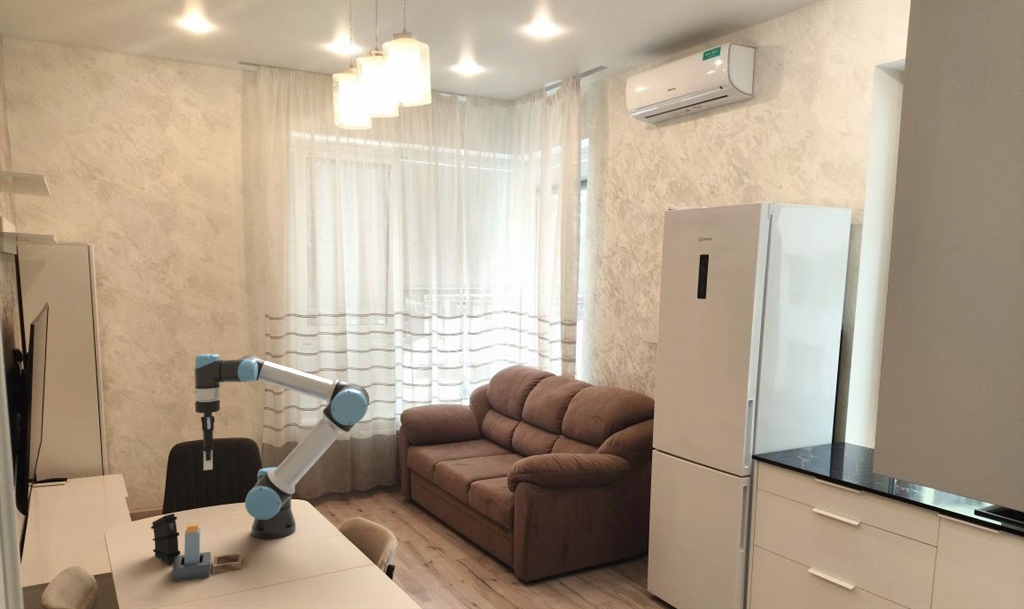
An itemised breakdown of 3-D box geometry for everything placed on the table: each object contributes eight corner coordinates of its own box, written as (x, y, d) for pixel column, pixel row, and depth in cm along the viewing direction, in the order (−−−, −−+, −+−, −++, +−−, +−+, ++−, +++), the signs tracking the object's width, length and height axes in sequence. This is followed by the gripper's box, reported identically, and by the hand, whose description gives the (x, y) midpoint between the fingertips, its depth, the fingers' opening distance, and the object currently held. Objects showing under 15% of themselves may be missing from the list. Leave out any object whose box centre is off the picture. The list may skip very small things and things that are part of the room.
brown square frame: (241, 558, 209) (241, 552, 209) (241, 568, 201) (241, 562, 201) (214, 562, 205) (214, 556, 205) (213, 572, 198) (213, 566, 198)
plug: (199, 569, 200) (200, 521, 200) (198, 574, 197) (199, 526, 196) (185, 571, 199) (186, 523, 198) (184, 576, 195) (185, 527, 195)
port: (210, 564, 204) (210, 551, 204) (209, 577, 195) (209, 564, 195) (175, 568, 200) (175, 555, 200) (172, 582, 191) (172, 568, 191)
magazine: (172, 563, 200) (163, 515, 204) (155, 570, 208) (148, 524, 211) (184, 559, 203) (176, 512, 207) (168, 566, 211) (160, 521, 214)
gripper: (194, 398, 220) (195, 466, 220) (196, 403, 209) (196, 475, 209) (218, 396, 224) (218, 463, 224) (221, 402, 212) (221, 472, 213)
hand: (208, 469), depth 217 cm, fingers closed
